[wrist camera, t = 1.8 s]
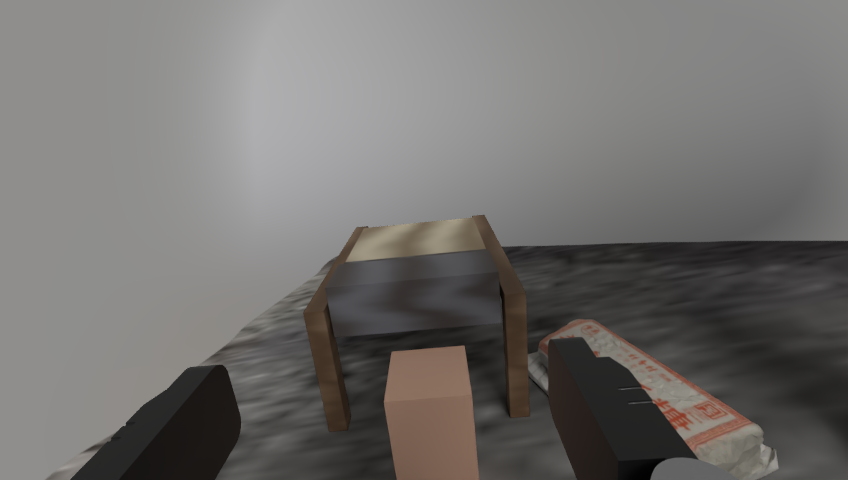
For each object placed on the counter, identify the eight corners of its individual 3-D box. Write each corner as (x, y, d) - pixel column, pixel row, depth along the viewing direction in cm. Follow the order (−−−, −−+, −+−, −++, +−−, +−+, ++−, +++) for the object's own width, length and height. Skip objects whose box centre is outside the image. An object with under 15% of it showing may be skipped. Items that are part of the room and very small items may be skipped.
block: (474, 460, 30) (464, 345, 27) (482, 525, 26) (471, 394, 23) (408, 465, 31) (391, 351, 28) (405, 530, 26) (383, 402, 23)
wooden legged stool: (489, 293, 57) (484, 214, 53) (529, 416, 34) (525, 292, 30) (368, 304, 58) (356, 227, 54) (329, 431, 35) (303, 312, 31)
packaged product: (796, 416, 26) (673, 469, 23) (783, 474, 27) (667, 530, 25) (598, 302, 42) (514, 326, 40) (597, 342, 44) (516, 368, 41)
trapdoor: (475, 246, 50) (472, 211, 49) (501, 323, 32) (498, 271, 30) (368, 256, 50) (363, 222, 49) (334, 337, 32) (324, 287, 31)
